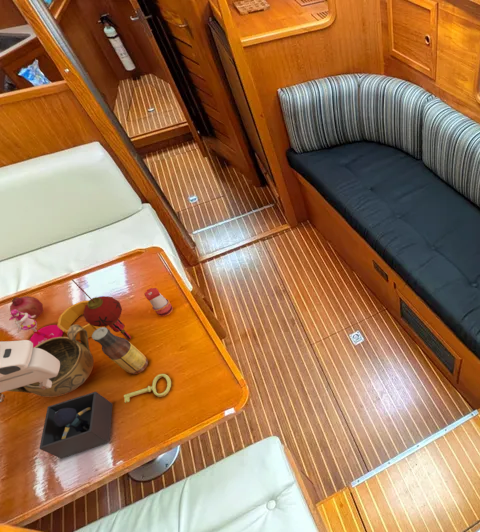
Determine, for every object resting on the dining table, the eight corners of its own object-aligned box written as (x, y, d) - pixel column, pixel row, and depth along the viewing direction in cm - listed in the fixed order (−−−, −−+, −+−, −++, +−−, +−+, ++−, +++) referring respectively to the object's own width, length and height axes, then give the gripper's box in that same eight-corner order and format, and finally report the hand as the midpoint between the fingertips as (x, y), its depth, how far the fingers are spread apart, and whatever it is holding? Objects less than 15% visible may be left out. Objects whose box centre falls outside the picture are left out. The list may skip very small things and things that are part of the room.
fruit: (51, 318, 134) (30, 300, 126) (22, 330, 130) (0, 313, 123) (47, 302, 138) (27, 284, 130) (20, 314, 134) (-2, 296, 127)
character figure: (94, 411, 112) (67, 393, 103) (105, 415, 111) (80, 398, 102) (67, 443, 106) (36, 427, 97) (79, 448, 105) (49, 433, 96)
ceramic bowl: (94, 337, 129) (65, 311, 117) (123, 364, 122) (96, 339, 111) (20, 391, 116) (-21, 367, 105) (48, 424, 110) (8, 403, 99)
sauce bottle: (148, 354, 125) (114, 318, 110) (149, 370, 121) (115, 336, 106) (125, 362, 123) (88, 328, 108) (126, 379, 119) (87, 345, 104)
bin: (61, 458, 104) (39, 448, 98) (67, 418, 111) (47, 406, 105) (109, 442, 107) (91, 431, 101) (112, 403, 114) (95, 391, 108)
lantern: (144, 321, 133) (92, 262, 110) (145, 344, 127) (91, 286, 105) (113, 332, 130) (53, 273, 108) (113, 355, 124) (50, 298, 102)
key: (124, 398, 115) (120, 395, 113) (166, 372, 121) (163, 369, 119) (133, 416, 112) (129, 414, 110) (176, 388, 117) (173, 385, 116)
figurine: (38, 356, 124) (3, 330, 113) (23, 341, 127) (-13, 315, 116) (69, 333, 130) (38, 307, 118) (54, 320, 133) (22, 293, 122)
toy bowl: (64, 345, 127) (54, 337, 123) (70, 314, 134) (61, 306, 131) (106, 333, 130) (98, 325, 126) (110, 304, 137) (102, 295, 134)
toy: (171, 301, 138) (151, 274, 127) (178, 316, 134) (158, 288, 123) (155, 309, 136) (133, 282, 125) (162, 324, 132) (140, 297, 121)
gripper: (-92, 396, 76) (-34, 422, 87) (31, 361, 82) (72, 390, 92) (-79, 368, 80) (-26, 396, 91) (37, 337, 86) (75, 367, 96)
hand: (24, 392), depth 91 cm, fingers open, 8 cm apart
